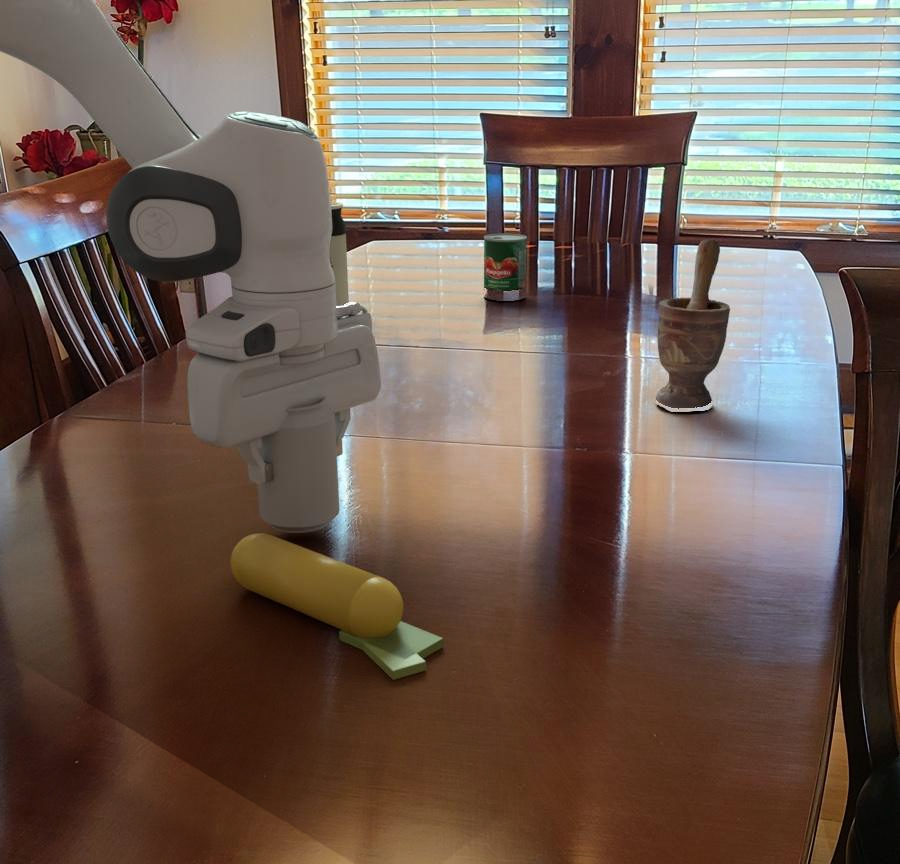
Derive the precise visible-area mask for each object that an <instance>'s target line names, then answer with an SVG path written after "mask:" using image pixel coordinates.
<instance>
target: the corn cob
mask: <svg viewBox="0 0 900 864" xmlns="http://www.w3.org/2000/svg"><path fill="white" fill-rule="evenodd" d="M230 571H231V573H232V575H233V578H234V579H235V581H236V582H237V583H238V584H239V585H240V586H242V587H243V588H245V589H246V590H248V591H250V592H253V593H255V594H257V595H260V596H261V597H264V598H267V599H269V600H271V601H274V602H276V603H278V604H281V605H283V606H286V607H287V608H290V609H292V610H295V611H297V612H299V613H302V614H304V615H306V616H309V617H311V618H313V619H315V620H318V621H320V622H322V623H325V624H327V625H330V626H331V627H334V628H336V629H338V630H339V631H338V637H339V641H341V642H343V643H345V644H347V645H350V646H352V647H354V648H357V649H358V650H361V651H363V653H365V654H366V655H367V656H368V657H369V658H370V659H371V661H373V662H374V663H375V664H376V665H377V666H378V667H379V668H380V669H381V670H382V671H383V672H384V673H385V674H386V675H387V676H388V677H389V678H390V679H391V680H393V681H395V680H399V679H402V678H405V677H408V676H411V675H412V676H413V675H415V674H417V673H418V674H419V673H423V672H426V671H427V662H426V660H425V659H426V658H427V657H429V656H430V655H432V654H433V653H435V652H437V651H439V650H441V649H442V648H444V638H443V637H441V636H439V635H436V634H434V633H431V632H429V631H426V630H424V629H421V628H419V627H416V626H413V625H412V624H409V623H407V622H404V621H402V618H403V616H404V615H403V614H404V600H403V597H402V594H401V592H400V591H399V589H398V588H397V586H396V585H395V584H393V582H391V581H390V580H388V579H386V578H385V577H382V576H379V575H376V574H375V573H372V572H369V571H366V570H364V569H360V568H358V567H356V566H353V565H350V564H348V563H345V562H343V561H341V560H337V559H334V558H332V557H330V556H327V555H324V554H323V553H319V552H316V551H313V550H311V549H309V548H305V547H304V546H301V545H298V544H295V543H293V542H290V541H287V540H285V539H282V538H279V537H276V536H274V535H272V534H268V533H264V532H263V533H261V532H260V533H251V534H249V535H247V536H245V537H243V538H242V539H240V541H238V542H237V543H236V545H235V546H234V547H233V549H232V552H231V555H230Z"/></svg>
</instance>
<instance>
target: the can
mask: <svg viewBox="0 0 900 864" xmlns="http://www.w3.org/2000/svg"><path fill="white" fill-rule="evenodd" d="M326 401H327V398H326V397H325V398H323V399H322V401H321V402H320V403H318V404H315V405H312V406H308V407H302V408H289V409H287V410H286V412H288V417H287V419H286V420H285V422H284V423H283V425H282V426H281V427H280V430H279V431H278V432H275V433H272V434H269V435H266V436H263V437H261V438H262V448H260V449H257V450H258V452H259V454H260V455H261V457H262V459H263V460H264V461H268V462H272V463H273V471H272V473H273V474H274V478H273V480H271V481H268V482H266V483H263V484H260V485H259V484H256V487H257V489H256V490H257V500H258V511H259V516H260V518H261V520H262V521H264V522H266V523H267V524H268V525H269V526H270V527H271V528H273V529H274V530H276V531H280V532H281V533H282V532H283V533H291V534H295V533H296V534H302V533H310V532H315V531H319V530H322V529H324V528H326V527H328V526H329V525H330V524H331V523H332V521H333V520H334V519H335V518H336V517H338V515H339V514H340V492H339V474H338V456H337V451H336V432H335V413H334V412H333V411H332V410H331V409H330V408H329V407H328V406H327V405H325V403H326Z"/></svg>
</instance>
